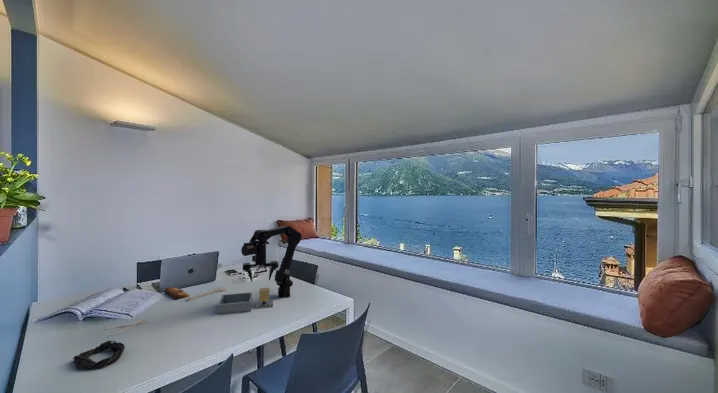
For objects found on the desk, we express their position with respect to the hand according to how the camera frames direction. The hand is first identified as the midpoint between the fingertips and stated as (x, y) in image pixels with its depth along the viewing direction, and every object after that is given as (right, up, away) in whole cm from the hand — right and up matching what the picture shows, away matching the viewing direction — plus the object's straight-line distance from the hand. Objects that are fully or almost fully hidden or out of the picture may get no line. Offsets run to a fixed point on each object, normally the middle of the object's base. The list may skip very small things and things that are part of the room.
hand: (260, 280), depth 166 cm
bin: (-12, -13, -5) cm, 18 cm away
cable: (-41, -14, -56) cm, 71 cm away
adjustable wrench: (-38, -13, +15) cm, 43 cm away
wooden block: (+2, -10, -1) cm, 10 cm away
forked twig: (-51, -13, -30) cm, 61 cm away
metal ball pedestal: (+2, -13, -1) cm, 13 cm away
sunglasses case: (-54, -13, +13) cm, 58 cm away
